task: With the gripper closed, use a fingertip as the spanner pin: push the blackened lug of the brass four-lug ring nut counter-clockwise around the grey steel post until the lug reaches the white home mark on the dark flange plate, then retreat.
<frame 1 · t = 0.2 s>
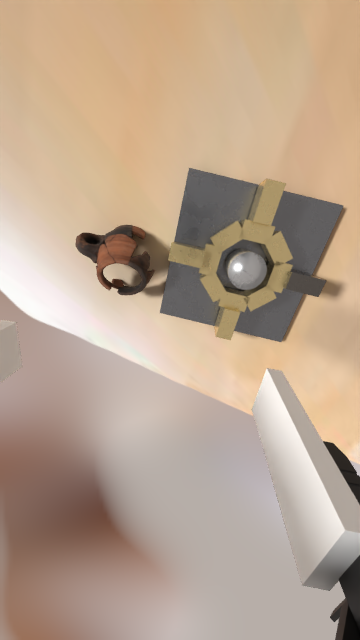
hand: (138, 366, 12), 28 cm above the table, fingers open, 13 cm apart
pottery mug: (124, 254, 37), on the table
ring nut: (243, 268, 33), point 3 cm above the table, hinge at 0.0°
flange plate: (239, 264, 36), on the table
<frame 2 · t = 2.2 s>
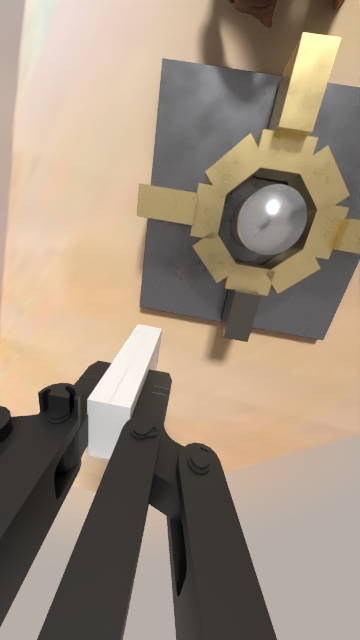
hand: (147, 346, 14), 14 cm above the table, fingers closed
ring nut: (262, 222, 20), point 4 cm above the table, hinge at 0.0°
flange plate: (254, 223, 23), on the table
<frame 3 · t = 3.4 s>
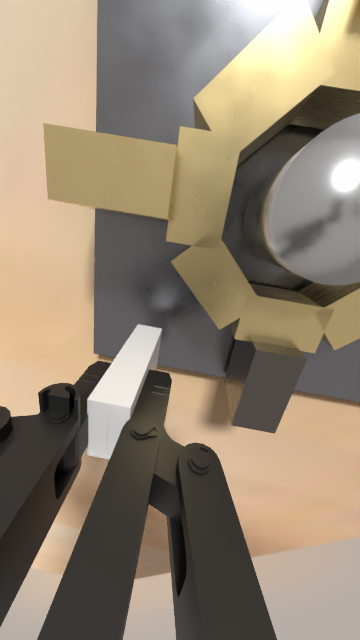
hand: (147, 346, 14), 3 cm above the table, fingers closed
ring nut: (311, 215, 10), point 3 cm above the table, hinge at 0.0°
flange plate: (284, 219, 13), on the table
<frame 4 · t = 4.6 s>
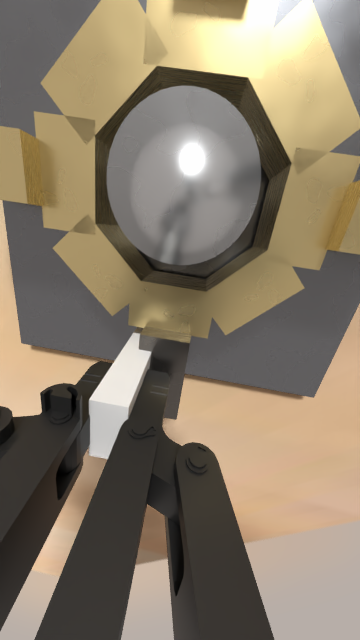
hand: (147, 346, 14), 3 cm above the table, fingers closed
ring nut: (187, 199, 10), point 4 cm above the table, hinge at 0.8°, touching gripper
flange plate: (190, 206, 13), on the table
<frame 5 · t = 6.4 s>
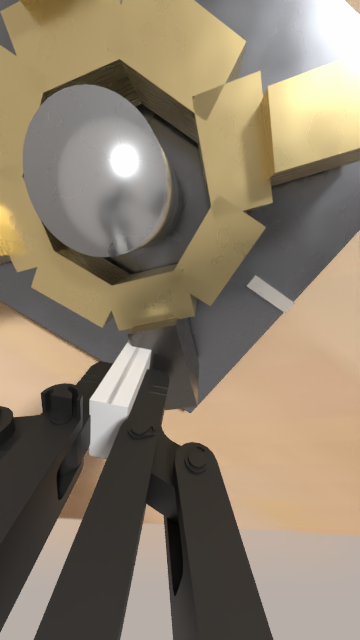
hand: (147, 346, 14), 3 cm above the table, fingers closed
ring nut: (123, 194, 10), point 4 cm above the table, hinge at 47.1°, touching gripper
flange plate: (142, 203, 14), on the table
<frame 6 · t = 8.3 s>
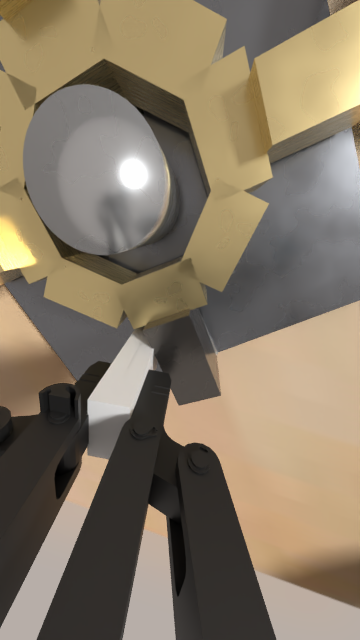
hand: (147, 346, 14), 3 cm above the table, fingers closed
ring nut: (122, 193, 10), point 4 cm above the table, hinge at 85.2°, touching gripper
flange plate: (141, 202, 14), on the table
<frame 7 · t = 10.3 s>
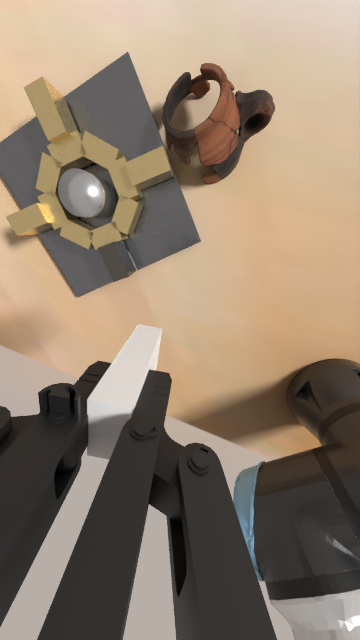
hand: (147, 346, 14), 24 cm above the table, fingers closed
pottery mug: (214, 137, 29), on the table
ring nut: (90, 196, 29), point 4 cm above the table, hinge at 85.1°
flange plate: (101, 199, 32), on the table
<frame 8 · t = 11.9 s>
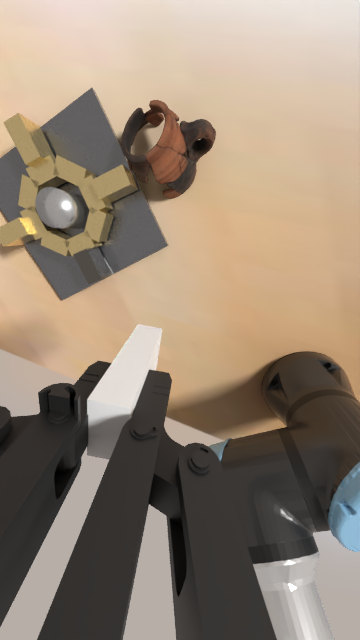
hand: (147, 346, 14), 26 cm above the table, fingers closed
pottery mug: (172, 158, 33), on the table
ring nut: (65, 210, 33), point 4 cm above the table, hinge at 85.1°
flange plate: (77, 212, 36), on the table
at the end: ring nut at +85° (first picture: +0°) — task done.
